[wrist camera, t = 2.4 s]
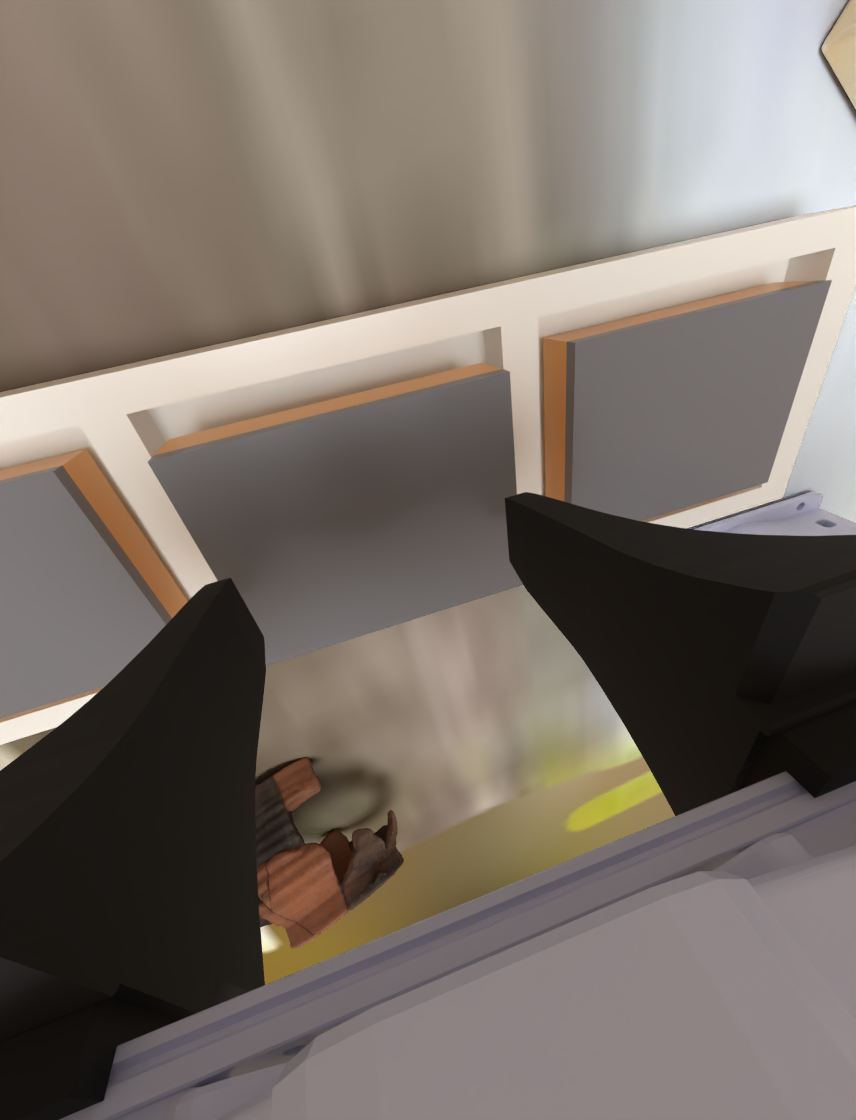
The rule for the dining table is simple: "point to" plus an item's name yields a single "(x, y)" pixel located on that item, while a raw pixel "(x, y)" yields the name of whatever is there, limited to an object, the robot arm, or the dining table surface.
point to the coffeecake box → (844, 50)
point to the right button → (676, 399)
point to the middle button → (354, 506)
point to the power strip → (415, 374)
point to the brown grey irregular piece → (313, 860)
